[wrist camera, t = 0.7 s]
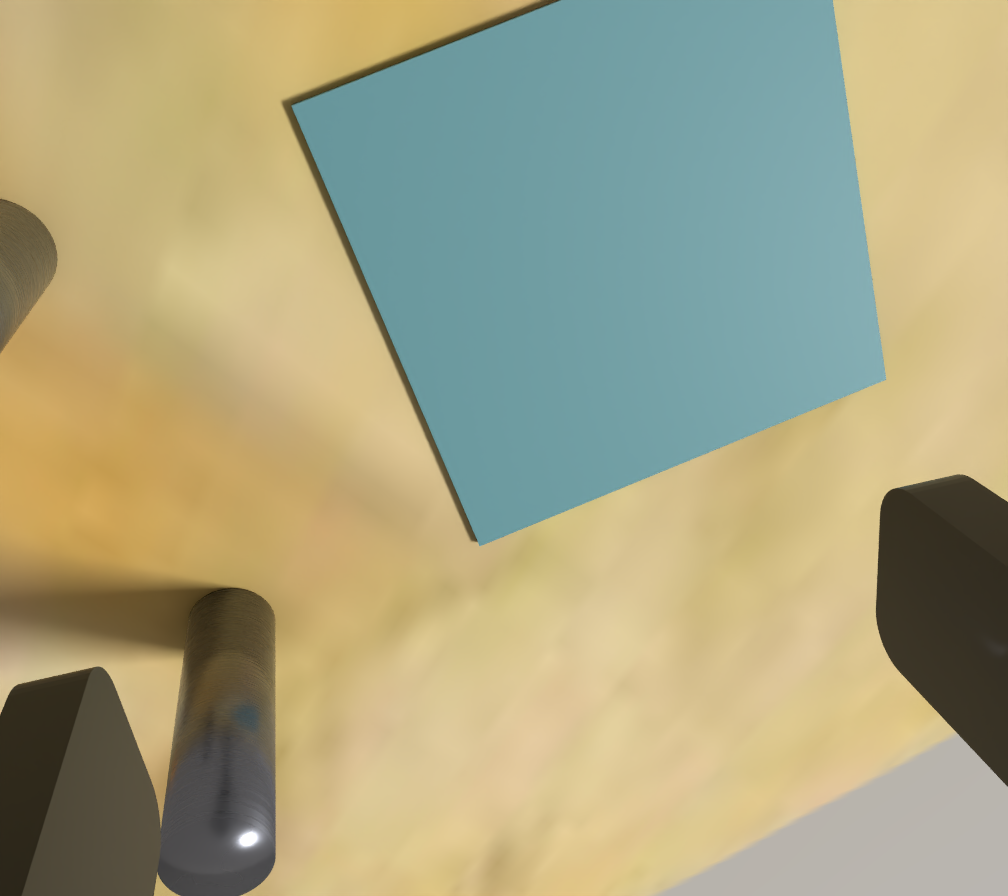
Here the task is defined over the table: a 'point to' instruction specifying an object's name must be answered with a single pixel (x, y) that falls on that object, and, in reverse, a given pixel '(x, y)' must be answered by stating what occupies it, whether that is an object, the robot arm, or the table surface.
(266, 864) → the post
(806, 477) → the table surface
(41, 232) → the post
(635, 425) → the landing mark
